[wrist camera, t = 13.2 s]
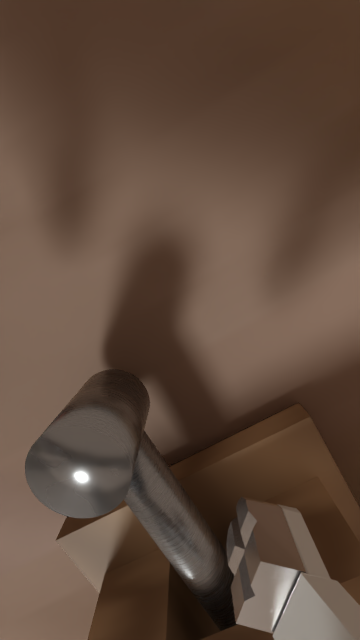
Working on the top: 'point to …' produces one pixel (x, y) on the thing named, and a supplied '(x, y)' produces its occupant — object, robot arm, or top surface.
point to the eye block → (216, 530)
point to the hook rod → (128, 483)
